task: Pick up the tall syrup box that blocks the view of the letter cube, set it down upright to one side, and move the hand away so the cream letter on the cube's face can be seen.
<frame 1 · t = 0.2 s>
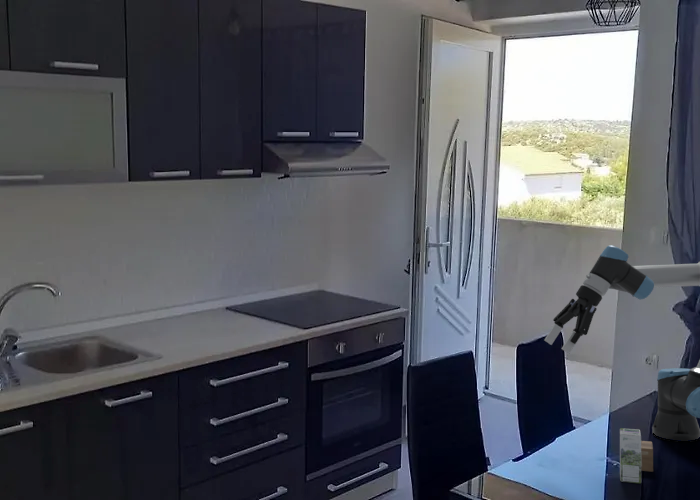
hand: (556, 347, 232), 36 cm above the table, tool tilted 35°, fingers open, 13 cm apart
syrup box: (630, 480, 214), on the table
letter cube: (640, 466, 224), on the table
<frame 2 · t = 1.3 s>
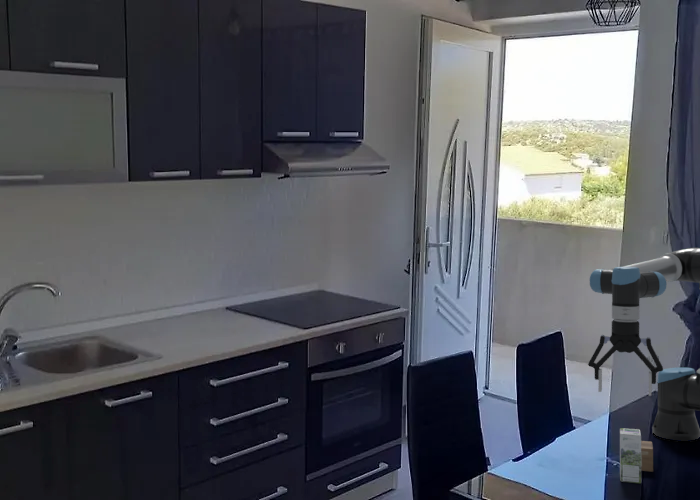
hand: (624, 392, 214), 25 cm above the table, tool pointing down, fingers open, 13 cm apart
nothing on the table moved.
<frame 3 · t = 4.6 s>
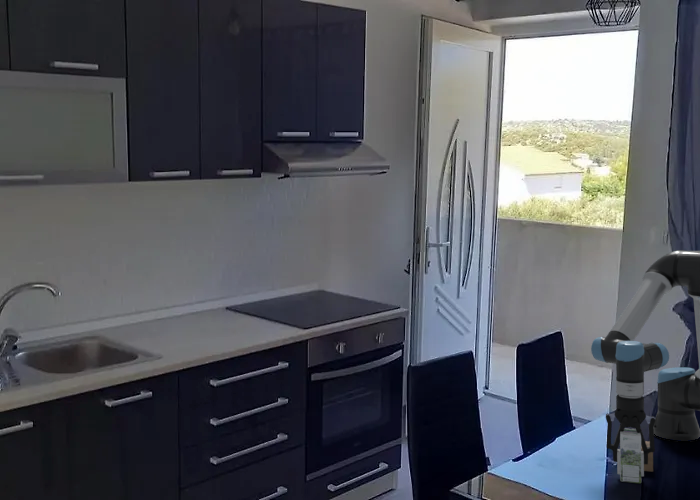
hand: (630, 473, 214), 2 cm above the table, tool pointing down, fingers closed on syrup box, 6 cm apart
syrup box: (630, 480, 214), on the table, touching gripper
everything else where it was.
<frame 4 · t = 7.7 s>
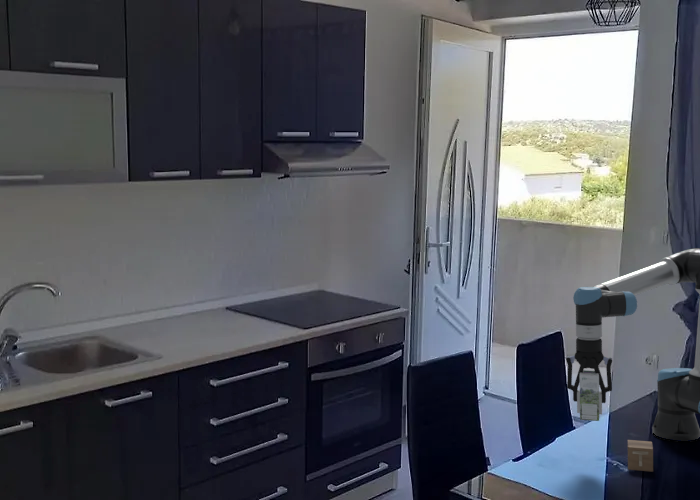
hand: (589, 412, 226), 16 cm above the table, tool pointing down, fingers closed on syrup box, 6 cm apart
syrup box: (589, 418, 226), point 14 cm above the table, touching gripper
everything else where it was.
when the fingers open (3 cm above the table, at t = 10.7 s): syrup box drops 1 cm, on the table.
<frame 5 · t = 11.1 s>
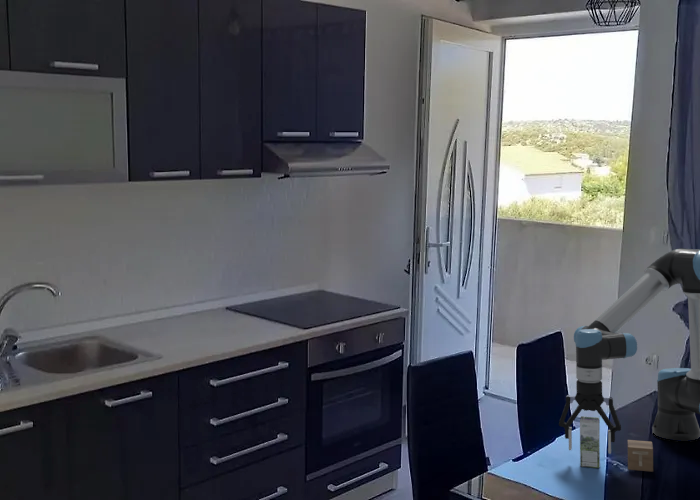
hand: (589, 450, 227), 4 cm above the table, tool pointing down, fingers open, 11 cm apart
syrup box: (590, 465, 227), on the table
everything else where it was.
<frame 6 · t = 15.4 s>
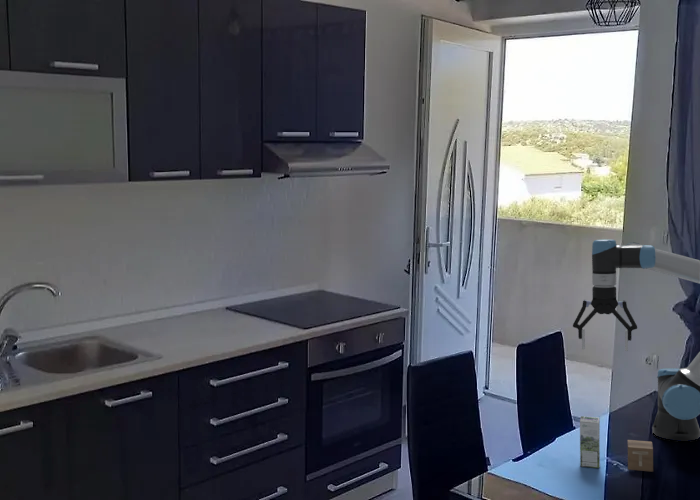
hand: (604, 349, 245), 32 cm above the table, tool pointing down, fingers open, 13 cm apart
nothing on the table moved.
at the end: syrup box inside the target area (0.0 cm from its centre), on the table; syrup box tilted 0°; letter cube moved 0.1 cm from its start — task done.
